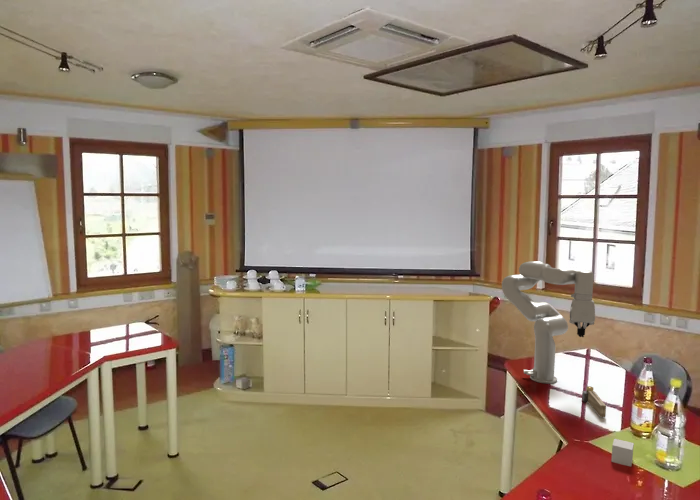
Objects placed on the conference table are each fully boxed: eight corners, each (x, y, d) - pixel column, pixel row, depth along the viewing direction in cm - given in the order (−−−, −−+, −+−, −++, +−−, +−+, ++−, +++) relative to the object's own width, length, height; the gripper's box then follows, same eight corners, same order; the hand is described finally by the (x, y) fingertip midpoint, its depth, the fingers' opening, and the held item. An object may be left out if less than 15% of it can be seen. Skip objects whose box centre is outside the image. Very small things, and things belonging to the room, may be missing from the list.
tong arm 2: (602, 417, 210) (603, 405, 209) (591, 401, 226) (591, 391, 225) (605, 417, 209) (606, 405, 209) (593, 402, 226) (594, 391, 225)
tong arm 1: (600, 416, 210) (600, 405, 209) (587, 401, 226) (588, 390, 225) (602, 417, 210) (603, 405, 209) (590, 401, 226) (590, 390, 225)
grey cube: (611, 461, 174) (612, 445, 174) (613, 454, 179) (614, 438, 179) (631, 467, 171) (632, 449, 170) (632, 459, 176) (633, 442, 175)
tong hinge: (583, 402, 227) (584, 392, 226) (582, 399, 230) (582, 390, 229) (596, 402, 226) (596, 393, 226) (594, 400, 229) (594, 390, 228)
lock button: (587, 392, 226) (587, 388, 226) (585, 390, 229) (585, 386, 229) (594, 393, 226) (594, 388, 226) (592, 390, 229) (592, 386, 228)
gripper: (568, 298, 231) (565, 337, 233) (603, 299, 228) (600, 339, 230) (563, 295, 238) (561, 333, 240) (597, 296, 236) (595, 335, 237)
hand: (580, 336), depth 235 cm, fingers closed
